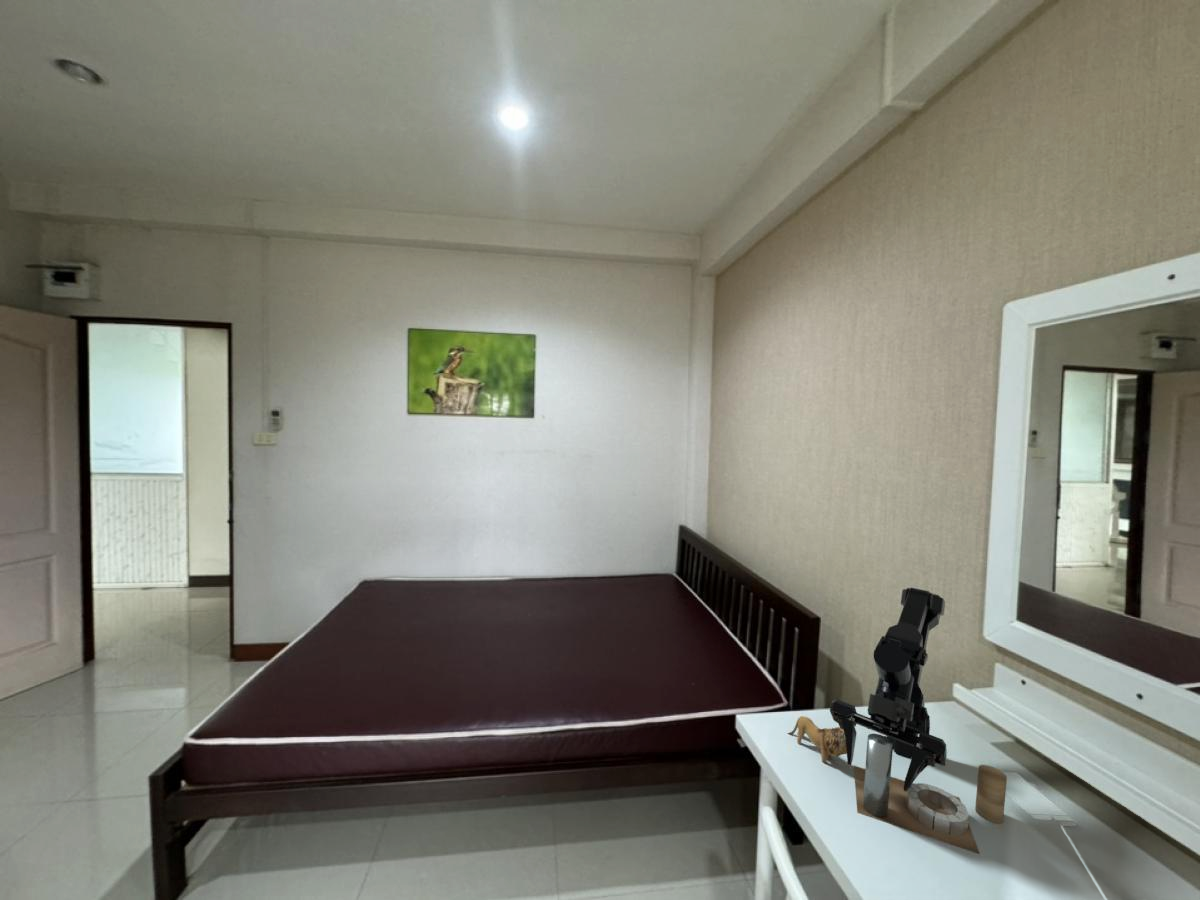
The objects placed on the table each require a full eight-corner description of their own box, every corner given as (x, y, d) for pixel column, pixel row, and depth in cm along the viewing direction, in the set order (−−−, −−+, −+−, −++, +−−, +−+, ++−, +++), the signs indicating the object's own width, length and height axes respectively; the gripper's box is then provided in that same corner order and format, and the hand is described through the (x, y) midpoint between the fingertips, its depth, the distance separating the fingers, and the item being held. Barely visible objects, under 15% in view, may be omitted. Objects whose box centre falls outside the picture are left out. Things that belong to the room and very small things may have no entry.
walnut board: (853, 770, 100) (853, 765, 100) (958, 802, 92) (959, 797, 92) (857, 817, 87) (857, 812, 87) (979, 859, 80) (980, 854, 80)
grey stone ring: (903, 789, 94) (904, 777, 94) (959, 807, 90) (960, 794, 90) (910, 822, 86) (911, 809, 85) (972, 843, 82) (974, 829, 82)
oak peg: (972, 808, 91) (976, 762, 91) (998, 816, 89) (1002, 769, 89) (978, 823, 87) (982, 775, 87) (1005, 832, 86) (1010, 783, 85)
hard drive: (978, 770, 100) (1032, 818, 88) (1017, 772, 100) (1076, 820, 88) (977, 778, 100) (1031, 827, 88) (1016, 780, 100) (1076, 829, 88)
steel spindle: (862, 797, 91) (867, 731, 90) (886, 805, 89) (891, 737, 89) (863, 812, 87) (868, 743, 87) (888, 821, 86) (894, 750, 85)
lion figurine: (855, 772, 100) (858, 729, 99) (841, 781, 97) (845, 738, 96) (792, 733, 112) (794, 695, 111) (778, 740, 109) (780, 702, 108)
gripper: (835, 659, 96) (814, 737, 89) (950, 696, 84) (936, 791, 76) (844, 683, 103) (824, 758, 95) (951, 721, 90) (939, 811, 83)
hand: (876, 777), depth 87 cm, fingers open, 9 cm apart
